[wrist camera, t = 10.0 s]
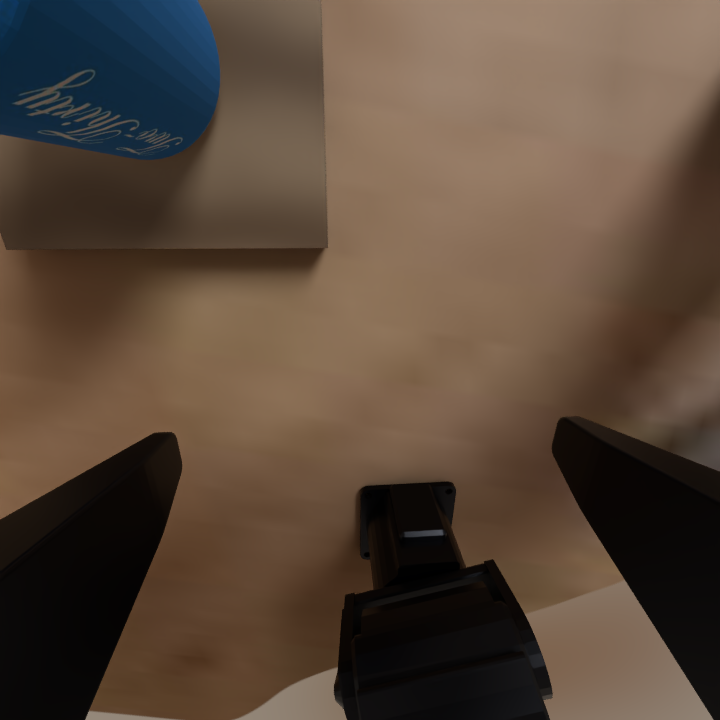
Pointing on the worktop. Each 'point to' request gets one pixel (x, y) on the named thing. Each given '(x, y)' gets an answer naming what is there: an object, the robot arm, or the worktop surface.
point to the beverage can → (108, 74)
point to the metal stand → (196, 157)
